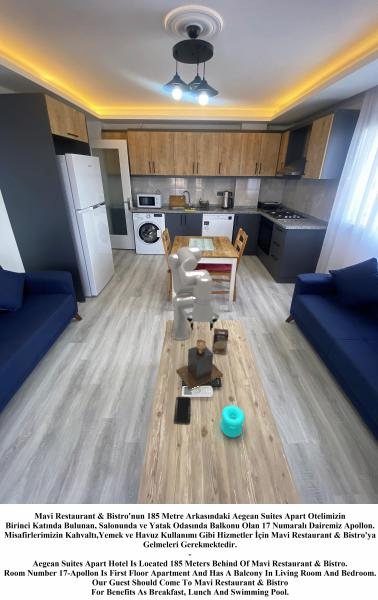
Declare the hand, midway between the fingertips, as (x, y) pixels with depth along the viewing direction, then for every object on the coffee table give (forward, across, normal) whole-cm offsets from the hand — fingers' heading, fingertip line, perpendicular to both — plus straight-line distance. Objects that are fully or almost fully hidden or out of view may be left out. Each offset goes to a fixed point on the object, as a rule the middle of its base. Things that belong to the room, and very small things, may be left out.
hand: (201, 328), depth 127 cm
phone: (+32, -8, -26) cm, 42 cm away
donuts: (+31, +14, -34) cm, 49 cm away
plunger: (+30, 0, -1) cm, 30 cm away
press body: (+31, 0, -1) cm, 31 cm away
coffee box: (+32, +14, +20) cm, 40 cm away
